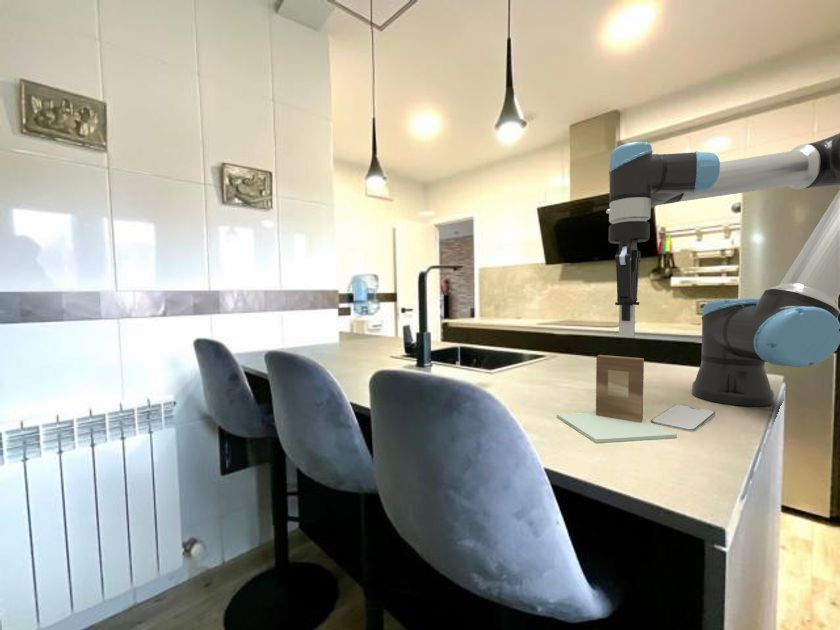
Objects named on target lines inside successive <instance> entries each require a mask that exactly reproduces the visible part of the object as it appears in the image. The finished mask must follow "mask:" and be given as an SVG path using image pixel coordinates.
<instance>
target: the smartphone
mask: <svg viewBox="0 0 840 630" xmlns="http://www.w3.org/2000/svg"><path fill="white" fill-rule="evenodd" d="M715 417H716V411H714V410H710V409H705V408H700V407H694V406H688V405H684V404H683V405H682V404H675V405H673V406H671V407H670V408H668V409H667V410H665V411H663V412H662V413H660V414H658V415H657V416H656V417H654V418H652V419H650V420H651V421H650V422H652V423H653V424H655V425H657V426H662V427H666V428H672V429H677V430H680V431H684V432H689V433H690V432H691V433H693V432H696V431H697V430H699V429H701V427H703V426H705V424H707V423H708V422H710V421H711V420H713V418H715Z"/></svg>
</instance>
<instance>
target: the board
mask: <svg viewBox="0 0 840 630" xmlns="http://www.w3.org/2000/svg"><path fill="white" fill-rule="evenodd" d="M595 358H596V359H595V360H596V363H595V365H596V370H595V371H596V372H595V374H596V375H595V376H596V377H595V381H596V383H595V412H596V415H597V416H603V417H609V418H615V419H620V420H626V421H632V422H638V423H641V422H642V420H643V419H644V416H643V415H644V378H645V377H644V371H645V368H644V367H645V364H644V363H645V358H642V357H630V356H615V355H607V354H606V355H604V354H599V355H596V357H595Z"/></svg>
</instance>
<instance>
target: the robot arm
mask: <svg viewBox="0 0 840 630" xmlns="http://www.w3.org/2000/svg"><path fill="white" fill-rule="evenodd" d="M608 174H609V180H608V181H609V184H608V185H609V202H608V203H609V208H607V209H605V210H606V211H605V213H606V214H608V222H609V223H610V225H609V226H608V242H609V243H610V244H613V245H614V244H615V245H616V244H617V245H618V250H617V251H616V252H615V256H614V259H615V266H616V267H615V268H616V269H615V270H616V293H617V294H616V296H617V297H616V301H615V302H614V305H615V306H619V308H618V311H619V312H618V318H619V319H618V337H621V338H622V337H623V338H625V337H626V338H634V337H635V335H636V334H635V331H636V328H635V327H636V325H635V324H636V306H640V301H638V287H639V272H640V271H639V270H640V264H641V263H640V262H641V250H639V249H638V243H644V242H647V241H649V240H650V238H651V237H650V236H651V233H650V232H651V224H650V222H649V220H650V219H651V211H652V210H651V209H653V208H655V207H657V206H661V205H667V204H674V203H675V204H676V203H679V202H687V201H693V200H701V199H707V198H714V197H723V196H729V195H736V194H743V193H751V192H756V191H757V192H759V191H765V190H771V189H772V190H773V189H779V188H787V187H789V188H790V189H793V190H802V189H812V188H823V187H833V186H840V132H839V133H836V134H834V135H832V136H829V137H827V138H824V139H821V140H817V141H814V142H811V143H805V144H804V143H803V144H800V145H797V146H796V147H794V148H792V149H791V150H790V151H782V152H776V153H771V154H765V155H759V156H758V155H756V156H751V157H745V158H739V159H732V160H731V159H730V160H726V161H720V159H719V156H718V155H717V154H716V153H715V152H712V151H710V152H709V151H708V152H706V151H695V152H681V153H679V152H678V153H676V152H675V153H665V154H664V153H663V154H662V153H661V154H659V153H654V152H653V149H652V145H651V144H650V142H647V141H646V142H644V141H632V142H627V143H624V144H622V145H619V146H617V147H616V148H614V149H613V151H612V152H611V153H610V160H609V170H608ZM839 296H840V189H839V190H838V191H837V193H836V194H835V196H834V198H833V199H832V201H831V202H830V204H829V206H828V208H827V209H826V210H825V213H823V215H822V217H821V218H820V220H819V221H818V223H817V224H816V227H815V228H814V230H813V231H812V232H811V235H810V236H809V237H808V239H807V240H806V242H805V244H804V246H803V247H802V249H801V250H800V252H799V253H798V255H797V257H795V260H794V261H793V263H792V265H791V266H790V268H789V269H788V271H787V272H786V274H785V276H784V277H783V279H782V280H781V282H780V284H778V285H775V286H771V287H768V288H765V290H764V292H763V294H761V296H760V298H733V299H722V300H721V299H720V300H719V299H718V300H714V301H710V302H707V303H705V304H704V305H703V308H702V315H701V322H702V323H701V331H702V332H701V363H700V366H699V368H698V371H697V374H696V377H695V380H694V381H693V382H692V385H691V394H692V395H693V396H695V397H697V398H699V399H702V400H705V401H709V402H710V401H711V402H715V403H719V404H727V405H733V406H745V407H768V406H772V405H773V404H774V400H775V397H774V396H775V393H774V391H773V390H772V389H771V388H772V387H771V384H770V381H769V380H770V379H769V377H768V375H767V372H766V368H765V365H766V364H765V363H768V364H771V365H773V366H779V367H788V368H789V367H791V368H806V367H811V366H815V365H818V364H821V363H822V362H824V361H825V360H827V359H829V358H830V357H831V356H832V355H833V354H834V353H835V352H836V350H837V349H838V348H839V346H840V322H839V320H838V317H839V315H840V308H839V306H838V305H837V303H836V300H837V299H838V298H839Z"/></svg>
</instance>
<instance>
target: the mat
mask: <svg viewBox="0 0 840 630" xmlns="http://www.w3.org/2000/svg"><path fill="white" fill-rule="evenodd" d="M556 418H557V419H558V420H560V421H562V422H563V423H565V424H566V425H568V426H569V427H571V428H572V429H574V430H576V431H577V432H579V433H580V434H582V435H583V436H585V437H586V438H588V439H589V440H591V441H592V442H594V443H596V444H600V443H603V444H604V443H615V442H618V443H619V442H633V441H646V440H647V441H648V440H662V439H665V440H667V439H677V438H678V435H677V434H676V433H675V432H673V431H670V430H668V429H666V428H664V427H663V426H662V427H661V426H660V425H657V424H653V423H651V421H648V420H646V419H644V418H643V420H642V422H641V423H638V422H632V421H626V420H620V419H615V418H609V417H603V416H597V415H596V411H594V412H576V413H575V412H574V413H573V412H572V413H561V414H560V413H559V414H558V413H557V414H556Z"/></svg>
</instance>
